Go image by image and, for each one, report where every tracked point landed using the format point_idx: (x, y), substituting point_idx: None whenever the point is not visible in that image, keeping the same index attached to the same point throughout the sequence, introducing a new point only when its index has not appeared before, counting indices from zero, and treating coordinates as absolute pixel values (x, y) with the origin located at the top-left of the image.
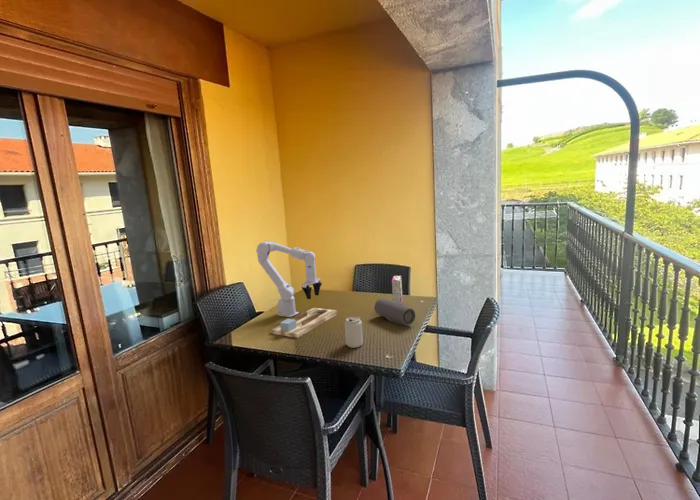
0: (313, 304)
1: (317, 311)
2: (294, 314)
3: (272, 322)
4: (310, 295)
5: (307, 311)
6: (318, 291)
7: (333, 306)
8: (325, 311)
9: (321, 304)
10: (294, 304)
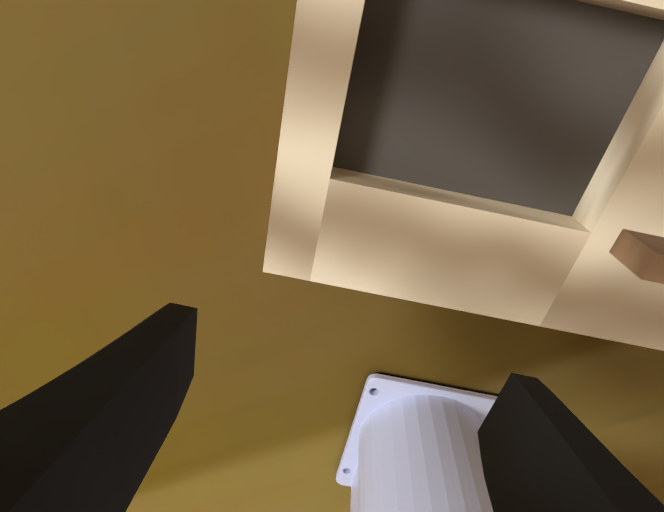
0: (68, 335)
1: (355, 176)
2: (449, 392)
3: (634, 476)
4: (591, 450)
5: (431, 291)
6: (137, 371)
7: (9, 46)
8: (358, 31)
9: (24, 253)
10: (438, 493)
